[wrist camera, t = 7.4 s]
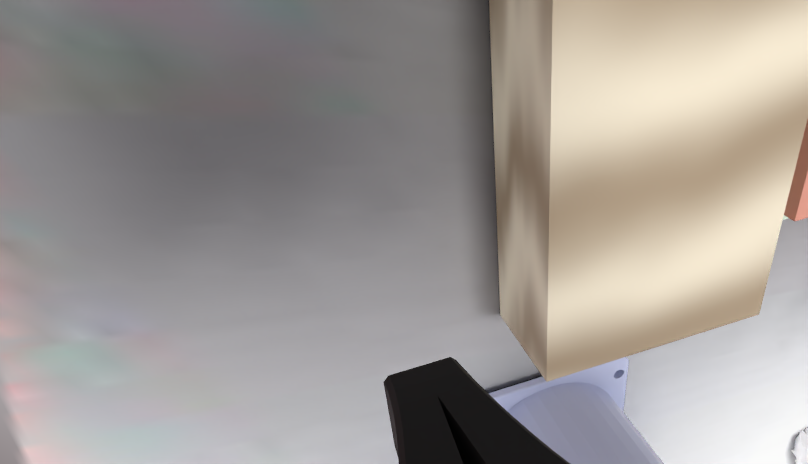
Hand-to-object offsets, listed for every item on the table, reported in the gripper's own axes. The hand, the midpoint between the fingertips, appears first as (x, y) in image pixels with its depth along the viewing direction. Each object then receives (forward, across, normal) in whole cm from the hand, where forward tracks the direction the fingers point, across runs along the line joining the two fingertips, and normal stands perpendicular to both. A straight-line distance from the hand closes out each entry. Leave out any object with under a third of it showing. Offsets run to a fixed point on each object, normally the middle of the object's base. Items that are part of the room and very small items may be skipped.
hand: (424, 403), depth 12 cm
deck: (+10, -10, +1) cm, 15 cm away
